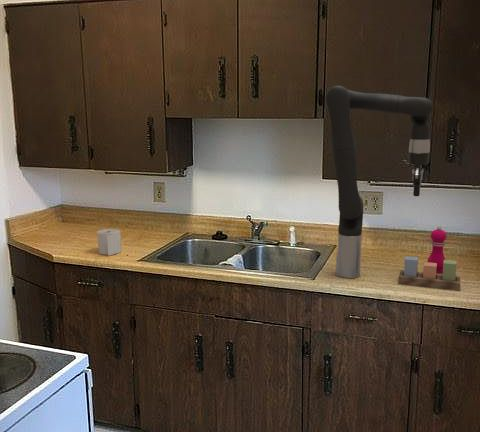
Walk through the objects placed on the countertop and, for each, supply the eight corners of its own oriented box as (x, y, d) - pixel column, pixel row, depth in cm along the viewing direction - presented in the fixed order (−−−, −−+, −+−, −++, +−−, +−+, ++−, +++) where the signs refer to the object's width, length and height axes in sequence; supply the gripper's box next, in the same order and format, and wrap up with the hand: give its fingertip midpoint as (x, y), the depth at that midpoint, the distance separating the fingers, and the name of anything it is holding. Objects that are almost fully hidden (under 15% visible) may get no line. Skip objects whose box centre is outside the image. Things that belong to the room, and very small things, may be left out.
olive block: (442, 280, 205) (443, 263, 204) (442, 277, 209) (443, 259, 208) (455, 282, 203) (456, 264, 202) (455, 278, 208) (456, 260, 206)
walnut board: (398, 284, 209) (398, 276, 209) (400, 277, 217) (400, 269, 217) (459, 291, 201) (460, 283, 201) (459, 283, 209) (460, 276, 209)
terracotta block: (422, 282, 208) (423, 265, 206) (423, 279, 212) (424, 262, 211) (435, 284, 206) (436, 266, 205) (435, 280, 210) (436, 263, 209)
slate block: (403, 276, 210) (404, 259, 209) (404, 273, 214) (405, 256, 213) (416, 278, 208) (417, 260, 207) (417, 274, 213) (418, 257, 211)
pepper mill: (441, 270, 225) (444, 223, 221) (448, 276, 218) (451, 227, 214) (423, 271, 225) (427, 224, 220) (430, 276, 218) (433, 228, 213)
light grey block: (114, 247, 264) (113, 227, 262) (127, 252, 255) (126, 231, 253) (94, 251, 257) (93, 231, 255) (107, 257, 248) (105, 235, 246)
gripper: (410, 149, 214) (407, 192, 218) (407, 152, 202) (404, 198, 206) (430, 149, 211) (427, 193, 215) (428, 153, 199) (425, 199, 203)
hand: (416, 195), depth 210 cm, fingers closed
